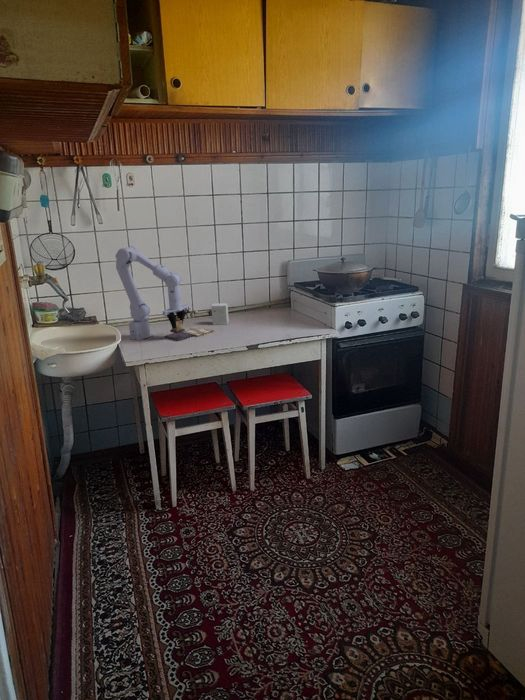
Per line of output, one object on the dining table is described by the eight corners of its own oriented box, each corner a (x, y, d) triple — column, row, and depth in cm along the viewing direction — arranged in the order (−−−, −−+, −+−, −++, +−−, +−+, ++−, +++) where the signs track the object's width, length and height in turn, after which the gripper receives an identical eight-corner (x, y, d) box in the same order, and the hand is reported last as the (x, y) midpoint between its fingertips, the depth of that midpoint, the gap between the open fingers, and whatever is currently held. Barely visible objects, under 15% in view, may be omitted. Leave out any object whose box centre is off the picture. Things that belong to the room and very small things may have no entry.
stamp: (177, 333, 238) (175, 319, 236) (170, 331, 242) (169, 318, 240) (184, 331, 242) (183, 317, 240) (178, 329, 245) (176, 316, 243)
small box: (228, 322, 268) (227, 303, 265) (227, 324, 263) (226, 305, 260) (214, 322, 269) (213, 303, 266) (212, 324, 264) (211, 305, 260)
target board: (197, 336, 242) (197, 335, 242) (179, 332, 250) (179, 331, 250) (214, 331, 250) (214, 330, 250) (195, 327, 259) (195, 326, 258)
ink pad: (178, 341, 236) (178, 339, 236) (163, 337, 243) (163, 335, 242) (192, 336, 243) (192, 334, 242) (177, 333, 249) (177, 331, 249)
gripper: (168, 303, 229) (171, 331, 233) (191, 297, 240) (193, 324, 244) (158, 301, 234) (161, 329, 238) (181, 296, 244) (184, 322, 248)
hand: (177, 326), depth 241 cm, fingers closed on stamp, 4 cm apart
